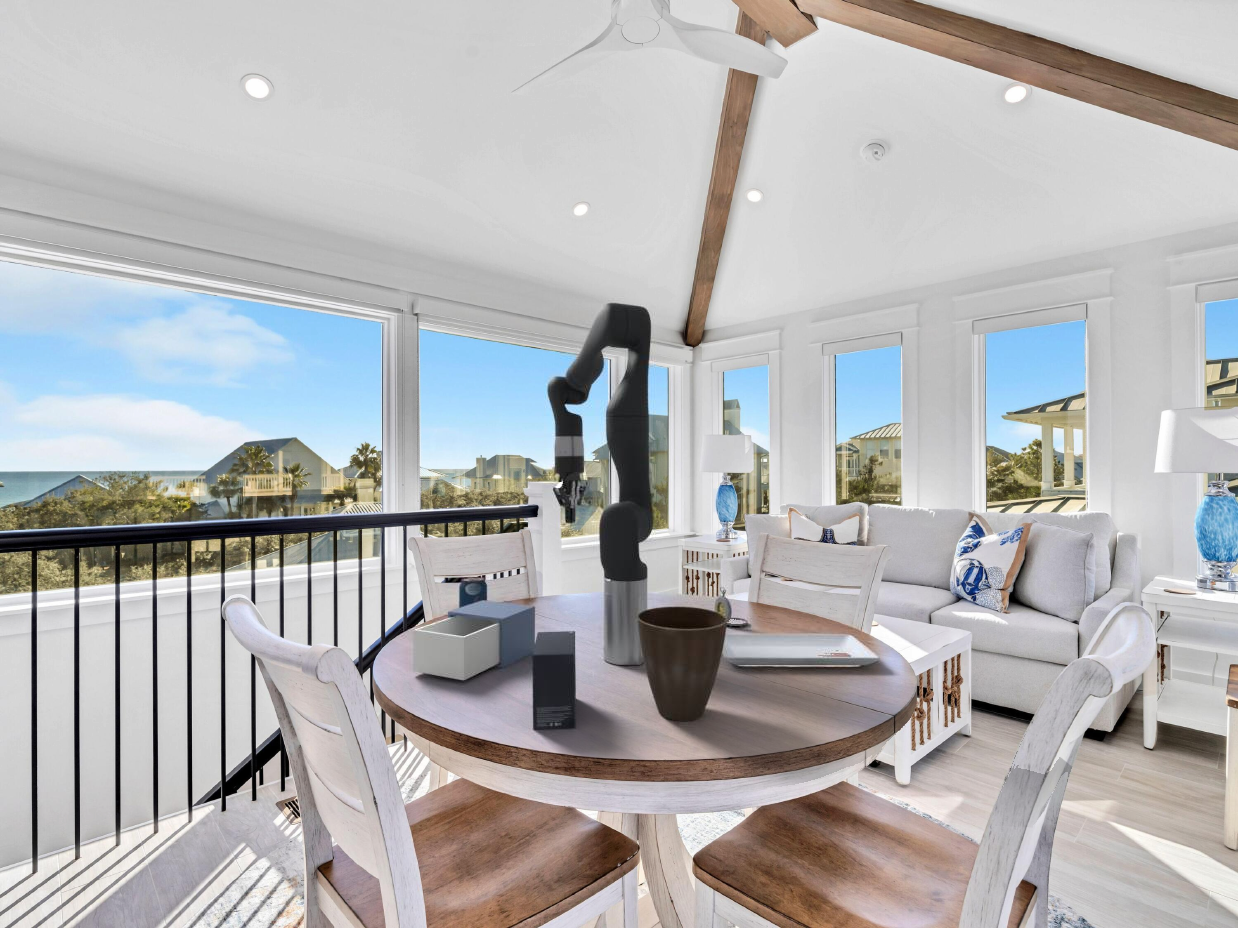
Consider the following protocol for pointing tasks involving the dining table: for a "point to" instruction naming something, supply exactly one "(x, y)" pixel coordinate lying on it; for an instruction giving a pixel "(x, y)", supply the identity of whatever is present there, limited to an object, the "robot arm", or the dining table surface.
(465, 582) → the soda can
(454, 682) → the dining table surface
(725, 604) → the pocket watch
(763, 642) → the tray
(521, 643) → the mailer sleeve
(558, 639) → the small box
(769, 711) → the dining table surface
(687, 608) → the plant pot
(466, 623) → the tray
